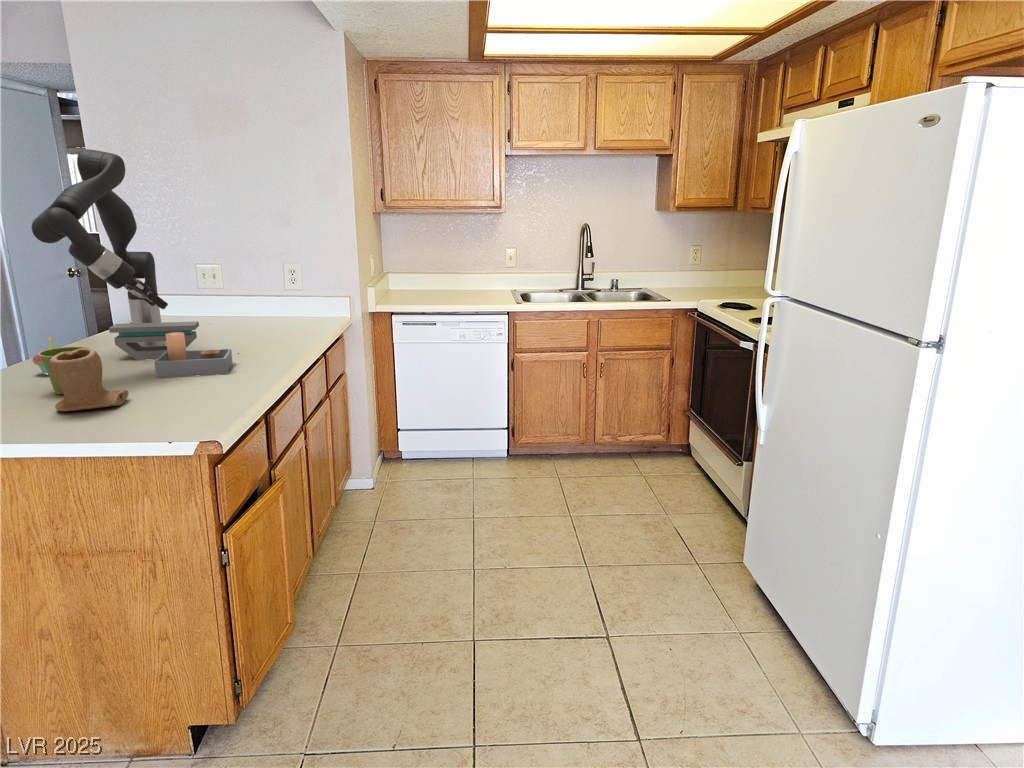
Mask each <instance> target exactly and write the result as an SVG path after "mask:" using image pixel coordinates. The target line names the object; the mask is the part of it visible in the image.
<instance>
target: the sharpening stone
mask: <svg viewBox="0 0 1024 768" xmlns="http://www.w3.org/2000/svg"><path fill="white" fill-rule="evenodd" d="M199 326H200V323H199V320H198V321H173V322H172V321H169V322H167V321H166V322H165V321H164V322H163V321H162V322H161V323H130V322H129V323H115V324H113V325H111V326H110V327H108V329H109V330H108V331H109V333H110V334H115V333H116V334H118V335H117V336H115V337H114V338H113V339H114V344H115V346H117V348H119V349H120V350H122V351H124V352H125V353H126V354H128V355H129V356H130V357H132V358H133V359H134V360H136V361H147V360H146V359H153V360H157V359H158V358H159V357H160V356H161V355H162V354H163V353H164V352H168V350H167V345H163V346H153V347H142V346H141V345H139V344H138V343H137V342H161V341H164V342H166V335H165V334H167V333H173V332H183V333H184V337H185V345H186V349H187V348H188V347H189V346H190V345H191V344H192V343H193V342H194V341H195V340H196V339H197V338H198V335H197V331H196V330H197V329H198V327H199Z"/></svg>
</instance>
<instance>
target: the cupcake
mask: <svg viewBox="0 0 1024 768" xmlns="http://www.w3.org/2000/svg"><path fill="white" fill-rule="evenodd" d="M53 345H54V344H53V337H52V334H50V336H49V349H54V347H53ZM31 362H32V363H33V364H34V365H36V366H37V367H38V368H39V369H40V370H41V372H42V374H43V373H48V372H47V370H46V367H45V364H43V361H42V359H41V357H40V356H38V353H37V354H36V355H34V356H33V357H32V361H31Z"/></svg>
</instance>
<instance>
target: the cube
mask: <svg viewBox="0 0 1024 768" xmlns="http://www.w3.org/2000/svg"><path fill="white" fill-rule="evenodd" d="M203 350H204V351H202V352H201V353H200V358H201V359H218V358H221V354H220V350H217V349H203Z"/></svg>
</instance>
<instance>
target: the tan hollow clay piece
mask: <svg viewBox="0 0 1024 768" xmlns="http://www.w3.org/2000/svg"><path fill="white" fill-rule="evenodd" d="M89 348H90V347H87V348H79V349H76V350H74V351H65V352H61V353H59V354H57V355H55V356H53V357H52V358H51V359H50V361H49V366H50V370H51V373H52V375H53V378H54V380H55V381H56V383H57V384H58V386H59V387H60V389H61V390H62V392H63V394H64V395H63V399H62V400H59V401H58V402H57V403H56V404H55V406H54V407H55V409H56V410H57V411H59V412H74V411H85V410H94V409H101V408H109V407H117V406H121V405H123V404H124V403H125V402H126V400H127V399H128V397H129V389H117V390H107V389H106V388H105V387H103V362H102V360H101V356H100V355H99V354H98V351H96V350H94V349H93V348H90V349H89Z"/></svg>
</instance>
